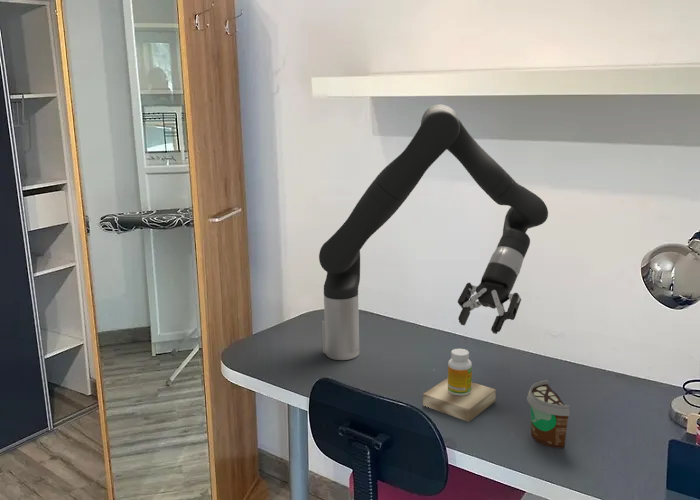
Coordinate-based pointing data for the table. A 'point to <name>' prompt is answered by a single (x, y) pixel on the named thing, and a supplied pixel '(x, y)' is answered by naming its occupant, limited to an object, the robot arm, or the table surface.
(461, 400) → the base block
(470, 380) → the supplement bottle
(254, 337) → the table surface
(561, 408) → the food container
